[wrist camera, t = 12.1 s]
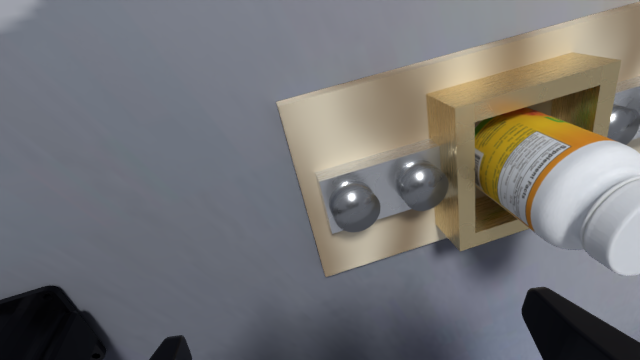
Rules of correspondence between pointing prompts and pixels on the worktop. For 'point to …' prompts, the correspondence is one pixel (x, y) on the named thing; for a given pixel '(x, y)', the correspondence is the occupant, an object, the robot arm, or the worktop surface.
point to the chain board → (423, 121)
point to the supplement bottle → (563, 184)
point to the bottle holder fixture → (459, 147)
